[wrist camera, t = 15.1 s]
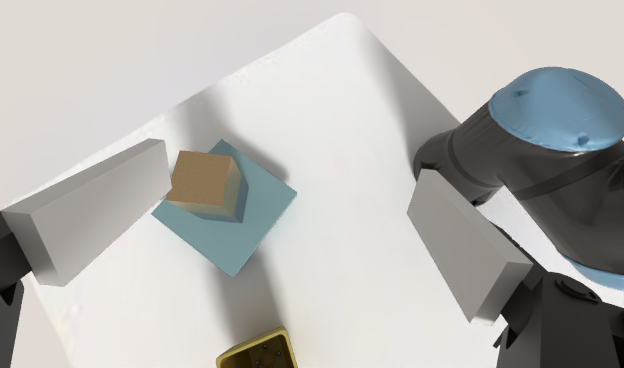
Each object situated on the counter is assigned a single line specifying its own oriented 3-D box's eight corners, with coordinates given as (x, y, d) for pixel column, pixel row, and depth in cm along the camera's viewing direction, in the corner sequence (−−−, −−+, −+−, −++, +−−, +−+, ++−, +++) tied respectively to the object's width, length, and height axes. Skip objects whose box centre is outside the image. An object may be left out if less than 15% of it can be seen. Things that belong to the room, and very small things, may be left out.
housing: (249, 186, 41) (231, 156, 30) (242, 223, 39) (220, 206, 28) (211, 182, 41) (179, 150, 29) (203, 219, 39) (165, 200, 28)
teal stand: (296, 199, 46) (297, 192, 41) (238, 276, 41) (231, 277, 37) (228, 150, 48) (221, 139, 43) (165, 219, 43) (150, 213, 39)
